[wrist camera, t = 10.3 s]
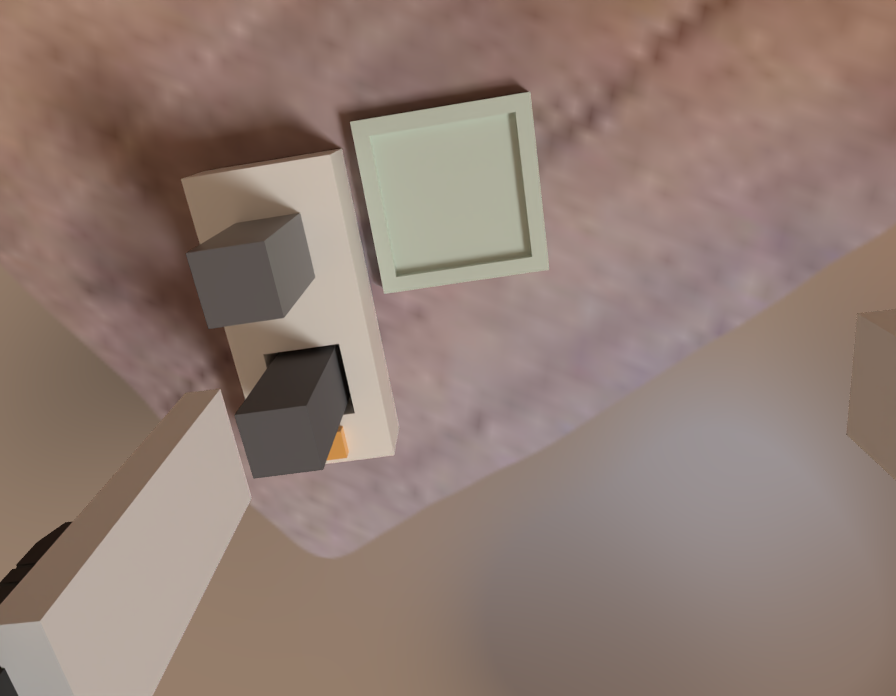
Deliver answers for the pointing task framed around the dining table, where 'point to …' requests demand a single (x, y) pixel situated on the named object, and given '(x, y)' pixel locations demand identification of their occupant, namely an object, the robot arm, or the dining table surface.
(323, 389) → the plug
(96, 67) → the dining table surface
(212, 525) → the robot arm
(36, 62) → the dining table surface
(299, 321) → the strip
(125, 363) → the dining table surface
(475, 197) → the tray
